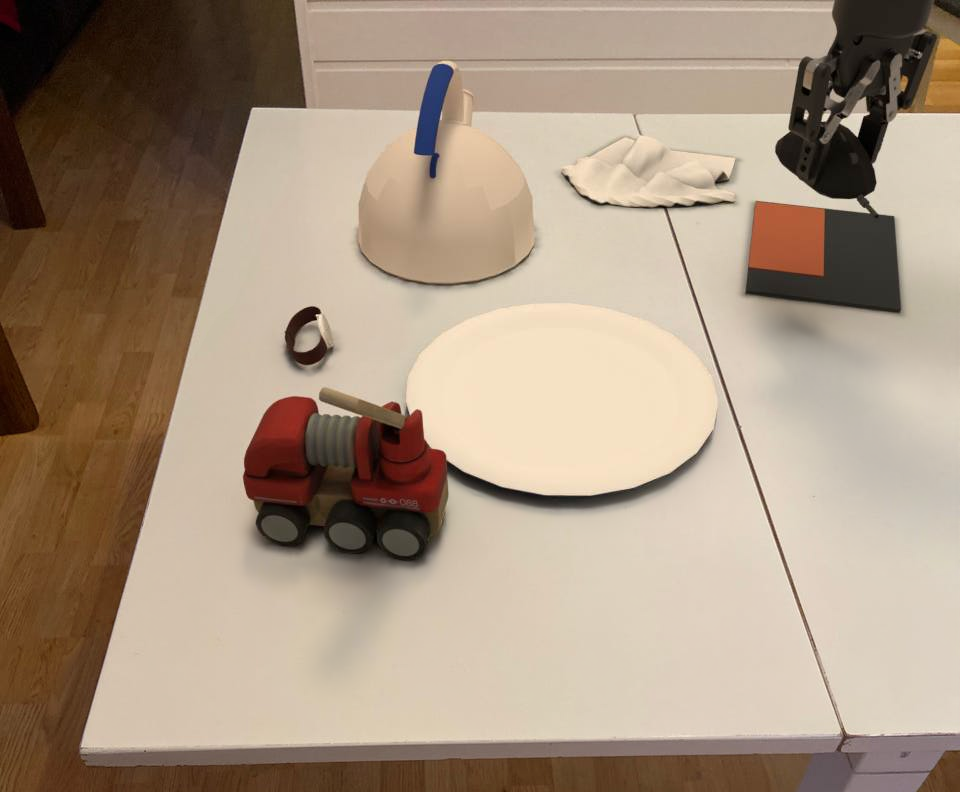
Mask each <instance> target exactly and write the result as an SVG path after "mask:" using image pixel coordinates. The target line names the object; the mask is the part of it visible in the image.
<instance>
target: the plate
mask: <svg viewBox="0 0 960 792" xmlns="http://www.w3.org/2000/svg"><path fill="white" fill-rule="evenodd" d="M719 404H720V403H719V399H718V395H717V391H716V386H715V382H714V378H713V376H712V375H711V373H710V372H709V370H708V369H707V368H706V366H705V364H704V363H703V362H702V360H701V359H700V357H699V355H698V354H697V353H696V352H694V351H693V350H692V349H691V348H689V347H688V346H687V345H686V344H685V343H684V342H683V341H681V340H680V339H679V338H678V337H676V336H675V335H674V334H672V333H670V332H668V331H666V330H664V329H662V328H661V327H659V326H657V325H655V324H653V323H651V322H650V321H647V320H645V319H643V318H640V317H636V316H634V315H630V314H627V313H624V312H621V311H618V310H614V309H611V308H608V307H607V308H606V307H601V306H594V305H587V304H581V303H575V302H574V303H573V302H572V303H571V302H535V303H527V304H521V305H514V306H508V307H500V308H498V309H494V310H491V311H489V312H485V313H482V314H479V315H476V316H473V317H469V318H467V319H465V320H463V321H461V322H460V323H458V324H456V325H454V326H452V327H451V328H449V329H447V330H446V331H444V332H442V333H440V334H439V335H438V336H437V337H435V339H434V340H432V342H431V343H429V344H428V346H426V347H425V348H424V349H423V350H422V351H421V352H420V353H419V355H418V356H417V358H416V360H415V362H414V364H413V366H412V367H411V370H410V372H409V373H408V375H407V382H406V392H405V405H406V408H407V410H408V414H409V416H410V415H411V414H412V413H413V412H414V411H415V410H416V409H418V410H421V412H422V417H423V430H424V439H425V440H426V442H427V443H428V446H429V448H430V449H438V450H442V451H444V452H445V454H446V460H447V464H450V465H451V466H452V467H454V468H456V469H457V470H458V471H459V472H461V473H463V474H465V475H468V476H469V477H473V478H475V479H477V480H480V481H482V482H485V483H487V484H489V485H492V486H495V487H497V488H500V489H504V490H507V491H514V492H519V493H524V494H530V495H533V496H540V497H548V498H549V497H550V498H551V497H553V498H592V497H598V496H605V495H608V494H615V493H620V492H626V491H632V490H635V489H637V488H640V487H642V486H645V485H647V484H649V483H652V482H656V481H657V480H660V479H662V478H665V477H668V476H669V475H671V474H672V473H673V472H675V471H677V470H678V469H679V468H680V467H682V466H683V465H684V464H686V463H687V462H688V461H690V460H691V459H693V458H694V457H696V455H698V453H699V451H701V448H702V447H703V446H704V444H706V442H707V440H708V439H709V437H710V436H711V434H712V433H713V431H714V428H715V424H716V419H717V418H716V417H717V412H718V410H719V409H718V408H719Z"/></svg>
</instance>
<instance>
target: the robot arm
mask: <svg viewBox="0 0 960 792" xmlns="http://www.w3.org/2000/svg"><path fill="white" fill-rule="evenodd" d="M934 3H935V0H834V2H833V5H832V10H831V17H832V20H833V22H834V24H835V28H836V34H835V37H834V39H833V42H832V43H831V46H830V47H829V49H828V51H827V54H826V55H824V56H822V57H819V58H817V59H814V58H812V57H810V56H807V55H806V56H804V57H803V58H802V59H801V60H800V62H799V64H798V69H797V74H796V80H795V87H794V92H793V97H792V104H791V108H790V109H791V110H790V116H789V121H788V127H787V128H788V131H789V132H790V131H791V132H793V133H795V134H797V135H799V136H800V137H802V138H804V141H803V145H802V149H801V153H800V158H799V161H798V162H799V163H798V165H797V176H798V177H797V176H796V177H797V178H798V179H799V180H800V181H801V182H803V183H804V182H805V183H804V184H806V183H807V184H808V185H814V184H817V183H818V182H819V180H820V178H821V176H822V173H823V169H824V165H825V162H826V158H827V154H828V151H829V147H830V142H829V141H830V139H831V138H832V136H833V134H834V132H835V131H836V129H837V127H838V125H839V124H841V122H842V120H843V119H848V118H849V117H850V116H851V115H852V112H853V110H854V109H855V107H856V105H857V104H858V102H859V101H861V100H863V99H864V98H865V106H866V107H865V108H866V112H867V113H869V114H865V115H863V117H862V119H861V123H860V127H859V130H858V133H857V137H858V138H859V140H860V142H861V143H862V145H863V147H864V149H865V150H866V152H867V154H868V156H869V158H870V160H871V163H872V165H873V164H875V163H876V161H877V158H878V155H879V153H880V151H881V149H882V146H883V142H884V139H885V137H886V136H885V135H886V134H887V129H888V126H889V123H891V122H892V121H894V119H895V118H896V117H897V114H898V112H899V111H900V110H904V111H907V110H909V109H910V108H911V107H912V105H913V103H914V101H915V98H916V96H917V94H918V90H919V88H920V84H921V82H922V80H923V77H924V75H925V71H926V69H927V67H928V63H929V62H930V59H931V56H932V53H933V50H934V48H935V45H936V42H937V40H938V35H937V33H934V32H931V31H930V30H928V29H926V28H925V27H926V25H928V22H929V19H930V16H931V13H932V10H933V6H934ZM903 77H905V78H907V82H906V85H905V88H904V90H902V79H903ZM832 91H833V92H834V94H835V95H837V96H839V97H841V98H842V100H841V101H836V100H834V99H832V98H831V93H832ZM806 111H807V113H808V114H807V115H808V116H807V117H806V118H805V114H806ZM826 111H829V112H830V114H829V116H828V118H827V119H826V123H825V125H824V126H823V125H821V122H823V121H822V120H823V116H824V114H825V113H826ZM807 184H806V185H807ZM808 185H807V186H808Z"/></svg>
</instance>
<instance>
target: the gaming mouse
mask: <svg viewBox="0 0 960 792" xmlns="http://www.w3.org/2000/svg"><path fill="white" fill-rule="evenodd" d="M826 121H827V120H826ZM826 121H825V120H824V121H821V125H823V126H824V125H825V123H826ZM803 141H804V138H802V137H800V136H799V135H797V134H795V133H793V132H791V131H789V132H787V133H786V134H784V135H783V136H782V137H781V138H779V139H778V140H777V141H776V142H775V143H776V144H775V146H774V154H775V155H776V157H777V159H778V161H779V162H780V164H781V165H782V166H783V167H784V168H785V169H786V170H788V171H789V172H790V173H791V174H793V175H794V176H795V177H797V178H798V176H797V165H798V163H799V162H798V161H799V158H800V153H801V149H802V145H803ZM829 142H830V147H829V151H828V154H827V158H826V162H825V165H824V169H823V173H822V176H821V178H820V180H819V182H818V183H817V184H814V185H808V184H807V183H805V182H803V183H804V184H805V185H806V186H807V187H809V188H810V189H812V190H813V191H814V192H816V193H817V194H819V195H820V196H823V197H825V198H829V199H833V200H853V199H855V200H856V201H857V203H859V205H860V206H861V207H862V208H863V209H866V210H867V211H868V213H871V215H872V216H873V217H874V218H878V216H879V214H880V213H878V212H877V211H876V210H875V209H874V207H872V205H871V204H870V201H869V200H868V198H867V196H868V195H870V194H872V193H873V192H875V189H876V187H877V177H876V171H875V168H874V165H873V164H872V163H871V160H870V158H869V156H868V154H867V152H866V150H865V149H864V147H863V145H862V143H861V142H860V140H859V138H858V135H856V134H855V133H854V132H853V131H852V130H851V129H850V128H849V127H847V126H846V125H843V124H841V123H840V124H839V125H838V127H837V129H836V131H835V132H834V134H833V136H832V138H831V139H830V141H829Z"/></svg>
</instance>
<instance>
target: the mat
mask: <svg viewBox="0 0 960 792" xmlns="http://www.w3.org/2000/svg"><path fill="white" fill-rule="evenodd" d="M753 211H754V212H753V219H752V230H751V238H750V245H749V246H750V248H749V257H748V266H747V276H746V284H745V292H744V293H745V294H747V295H755V296H764V297H771V298H772V297H773V298H780V299H786V300H787V299H788V300H794V301H795V300H796V301H803V302H812V303H818V304H819V303H820V304H828V305H836V306H844V307H852V308H858V309H859V308H860V309H867V310H876V311H883V312H892V313H899V314H900V313H901V311H902V302H901V301H902V300H901V287H900V275H899V261H898V259H899V258H898V247H897V233H896V221H895V220H896V219H895V216H894V215H888V214H881V213H878V214H879V216H878V218H874V217H873V216H872V215H871V213H870V212H860V211H853V210H843V209H833V208H824V207H816V206H807V205H806V206H805V205H798V204H789V203H780V202H771V201H760V200H755V203H754V210H753Z"/></svg>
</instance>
